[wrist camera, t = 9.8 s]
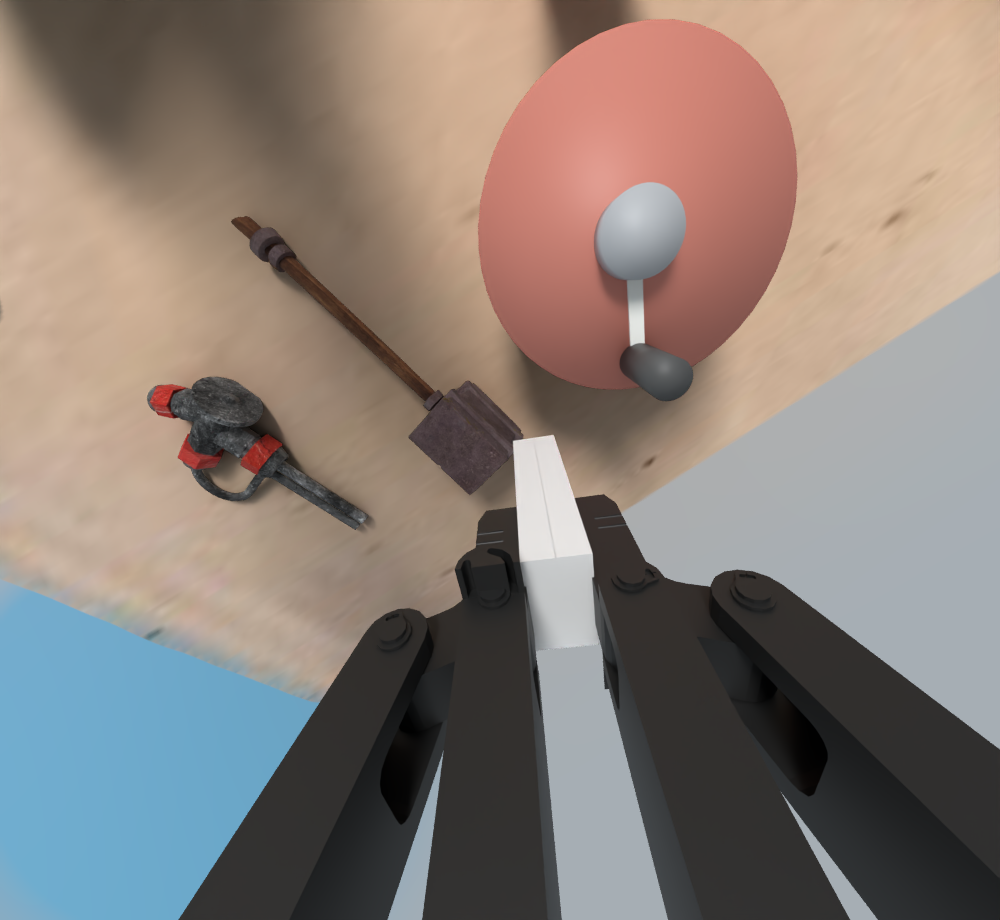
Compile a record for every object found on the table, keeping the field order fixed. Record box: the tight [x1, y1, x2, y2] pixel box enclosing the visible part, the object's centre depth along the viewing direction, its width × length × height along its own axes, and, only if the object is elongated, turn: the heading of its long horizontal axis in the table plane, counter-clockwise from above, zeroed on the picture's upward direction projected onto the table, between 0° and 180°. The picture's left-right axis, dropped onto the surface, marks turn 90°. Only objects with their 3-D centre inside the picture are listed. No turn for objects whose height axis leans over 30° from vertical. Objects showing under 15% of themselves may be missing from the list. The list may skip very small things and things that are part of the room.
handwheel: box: [478, 19, 797, 401], centre depth 23 cm, size 20×20×10 cm
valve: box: [147, 377, 368, 530], centre depth 44 cm, size 6×26×15 cm
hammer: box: [231, 216, 523, 495], centre depth 36 cm, size 7×33×10 cm, turn 47°
